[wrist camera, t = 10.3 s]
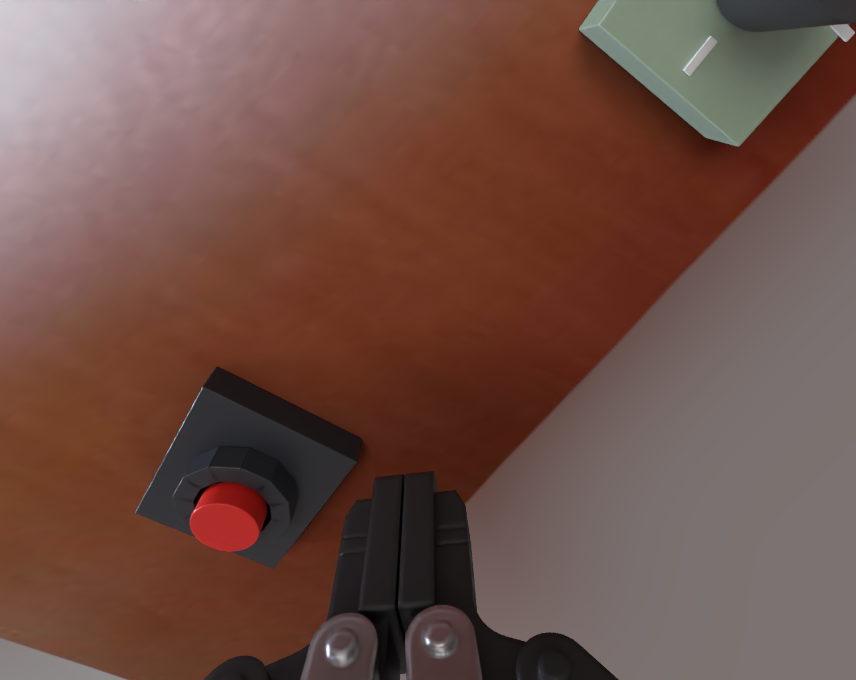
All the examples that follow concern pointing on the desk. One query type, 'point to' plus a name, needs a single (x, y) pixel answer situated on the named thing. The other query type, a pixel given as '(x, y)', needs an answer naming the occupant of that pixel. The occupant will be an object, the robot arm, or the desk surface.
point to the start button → (228, 516)
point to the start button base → (251, 462)
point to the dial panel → (707, 60)
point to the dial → (787, 13)
